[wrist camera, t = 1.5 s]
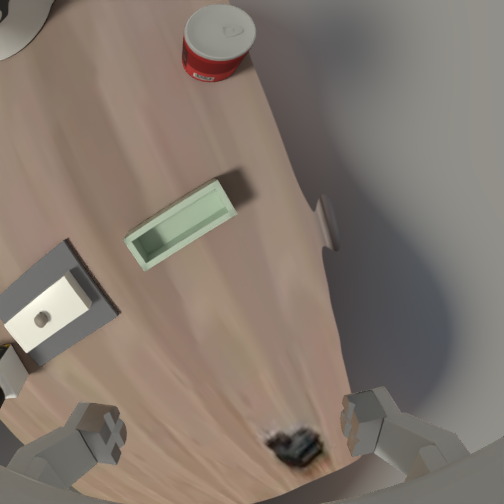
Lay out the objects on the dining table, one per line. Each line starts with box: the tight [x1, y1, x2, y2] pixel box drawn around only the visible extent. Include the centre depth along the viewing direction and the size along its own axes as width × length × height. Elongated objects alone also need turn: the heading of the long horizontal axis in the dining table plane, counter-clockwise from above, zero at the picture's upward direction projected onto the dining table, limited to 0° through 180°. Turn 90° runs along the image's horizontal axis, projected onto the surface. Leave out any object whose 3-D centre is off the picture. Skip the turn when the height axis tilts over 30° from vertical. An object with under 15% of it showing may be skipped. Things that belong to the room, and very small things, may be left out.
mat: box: [0, 240, 118, 366], centre depth 41 cm, size 14×20×1 cm
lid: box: [4, 271, 92, 353], centre depth 38 cm, size 6×16×4 cm, turn 119°
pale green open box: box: [123, 178, 237, 271], centre depth 40 cm, size 5×14×5 cm, turn 119°
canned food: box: [182, 4, 256, 82], centre depth 32 cm, size 8×8×11 cm
